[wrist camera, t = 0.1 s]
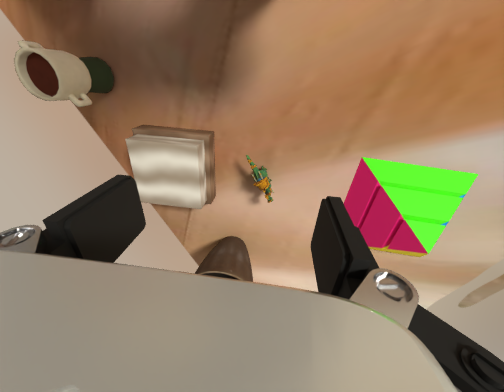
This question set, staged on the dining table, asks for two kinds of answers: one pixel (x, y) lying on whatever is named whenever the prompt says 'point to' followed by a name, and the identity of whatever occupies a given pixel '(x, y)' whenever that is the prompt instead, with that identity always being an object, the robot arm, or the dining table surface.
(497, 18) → the dining table surface
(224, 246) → the plant pot
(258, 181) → the figurine
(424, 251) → the pyramid toy
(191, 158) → the grey stacked block
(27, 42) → the character mug
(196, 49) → the dining table surface
